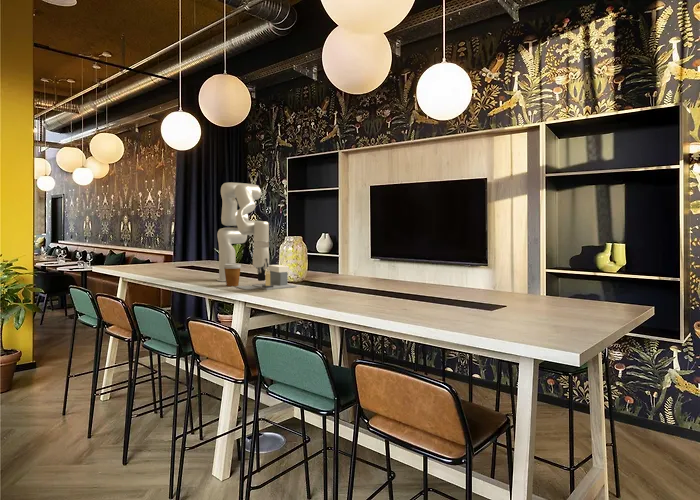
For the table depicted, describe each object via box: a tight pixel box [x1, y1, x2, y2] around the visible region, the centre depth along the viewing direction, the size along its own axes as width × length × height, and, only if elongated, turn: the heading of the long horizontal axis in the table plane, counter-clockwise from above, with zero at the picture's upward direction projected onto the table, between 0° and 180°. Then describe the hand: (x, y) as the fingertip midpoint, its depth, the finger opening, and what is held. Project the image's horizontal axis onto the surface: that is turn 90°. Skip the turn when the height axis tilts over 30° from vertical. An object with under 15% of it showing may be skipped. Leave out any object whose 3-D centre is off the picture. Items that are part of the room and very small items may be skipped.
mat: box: [234, 284, 261, 291], centre depth 248 cm, size 13×8×1 cm, turn 38°
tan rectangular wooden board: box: [264, 270, 270, 286], centre depth 242 cm, size 2×14×7 cm, turn 11°
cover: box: [267, 264, 290, 273], centre depth 258 cm, size 12×6×3 cm, turn 38°
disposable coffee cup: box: [224, 263, 242, 287], centre depth 255 cm, size 10×10×12 cm
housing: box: [251, 271, 297, 291], centre depth 253 cm, size 18×18×8 cm
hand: (261, 280), depth 239 cm, fingers closed
